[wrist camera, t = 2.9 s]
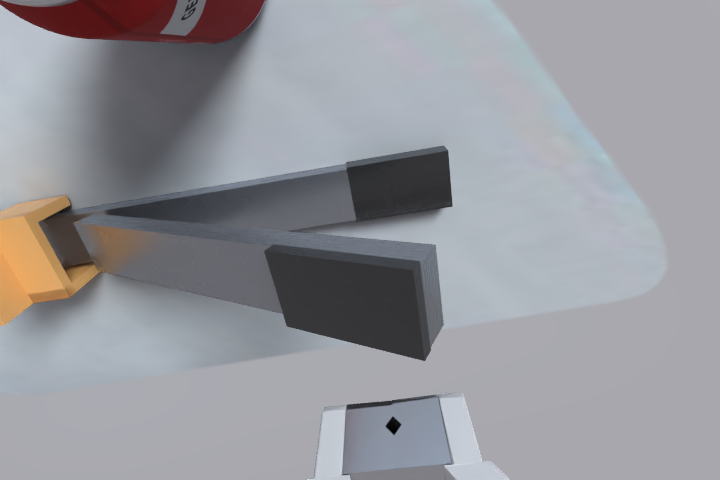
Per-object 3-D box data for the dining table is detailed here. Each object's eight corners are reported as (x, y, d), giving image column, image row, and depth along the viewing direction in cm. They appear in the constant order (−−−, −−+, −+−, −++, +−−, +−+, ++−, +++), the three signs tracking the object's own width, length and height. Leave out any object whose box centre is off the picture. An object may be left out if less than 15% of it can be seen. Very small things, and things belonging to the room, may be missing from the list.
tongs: (18, 267, 26) (3, 277, 25) (-10, 222, 24) (-27, 230, 23) (448, 199, 24) (452, 206, 23) (443, 145, 22) (448, 150, 21)
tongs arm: (118, 262, 24) (89, 276, 22) (94, 212, 22) (62, 224, 21) (443, 326, 13) (424, 361, 12) (435, 241, 12) (412, 270, 11)
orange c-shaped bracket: (59, 275, 26) (-10, 327, 21) (18, 203, 24) (-68, 241, 19) (103, 268, 26) (44, 319, 21) (66, 195, 24) (-10, 232, 19)
